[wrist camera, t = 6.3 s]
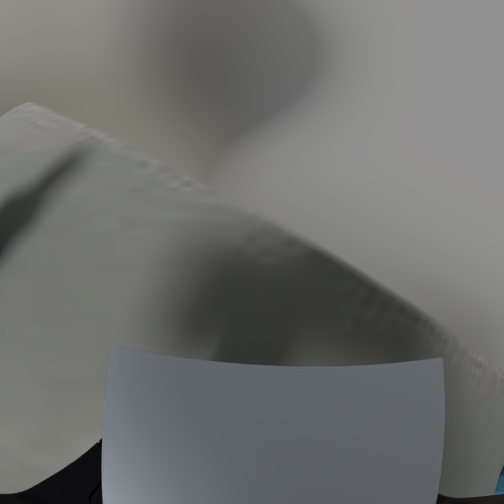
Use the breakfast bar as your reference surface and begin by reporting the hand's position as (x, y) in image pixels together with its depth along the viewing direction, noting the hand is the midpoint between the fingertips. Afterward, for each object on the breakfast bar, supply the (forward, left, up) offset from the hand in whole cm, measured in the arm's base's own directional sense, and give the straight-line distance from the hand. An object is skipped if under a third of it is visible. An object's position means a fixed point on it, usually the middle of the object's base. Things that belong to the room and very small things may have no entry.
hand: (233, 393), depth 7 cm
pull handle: (-5, 0, -7) cm, 9 cm away
